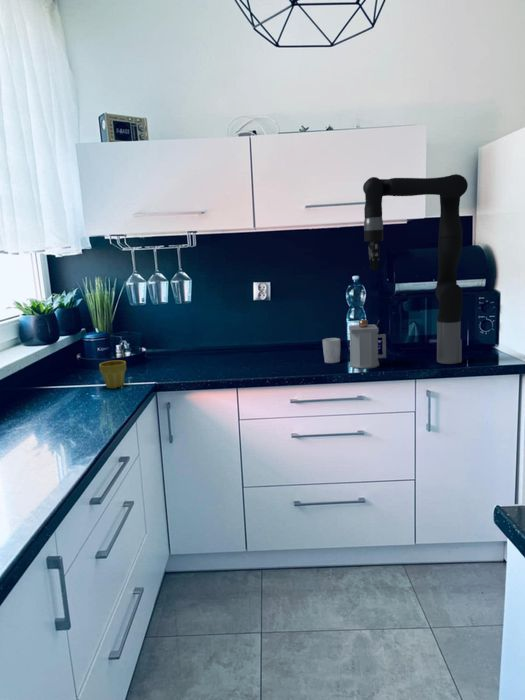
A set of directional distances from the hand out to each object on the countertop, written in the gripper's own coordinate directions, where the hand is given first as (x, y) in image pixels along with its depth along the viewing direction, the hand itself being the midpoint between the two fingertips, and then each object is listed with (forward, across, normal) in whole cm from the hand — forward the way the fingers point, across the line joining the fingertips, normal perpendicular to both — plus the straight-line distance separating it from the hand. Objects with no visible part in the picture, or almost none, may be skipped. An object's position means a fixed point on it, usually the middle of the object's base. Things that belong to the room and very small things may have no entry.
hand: (374, 269), depth 224 cm
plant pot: (+40, -19, +107) cm, 116 cm away
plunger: (+37, 0, +5) cm, 37 cm away
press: (+40, 0, +4) cm, 40 cm away
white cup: (+40, +10, +18) cm, 45 cm away
